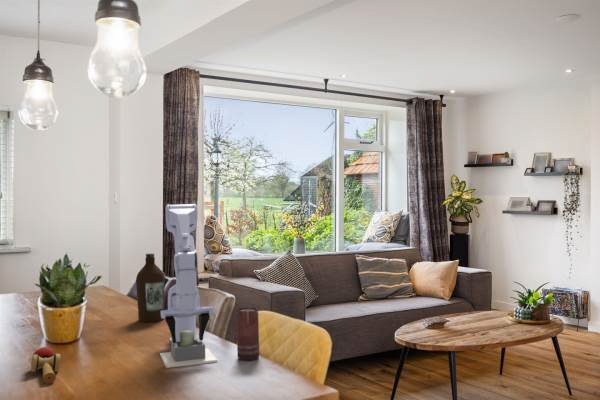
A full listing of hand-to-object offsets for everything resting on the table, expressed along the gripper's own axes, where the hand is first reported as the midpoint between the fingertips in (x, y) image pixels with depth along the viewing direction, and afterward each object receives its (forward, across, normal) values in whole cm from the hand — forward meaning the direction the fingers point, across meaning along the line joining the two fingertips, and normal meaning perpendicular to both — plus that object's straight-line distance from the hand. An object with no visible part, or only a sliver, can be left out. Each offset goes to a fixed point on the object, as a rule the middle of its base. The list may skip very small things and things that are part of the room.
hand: (187, 341), depth 170 cm
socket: (+5, 0, 0) cm, 5 cm away
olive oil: (+5, -4, +60) cm, 60 cm away
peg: (+4, 0, 0) cm, 4 cm away
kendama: (+5, -37, 0) cm, 38 cm away
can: (+5, +16, -7) cm, 18 cm away
